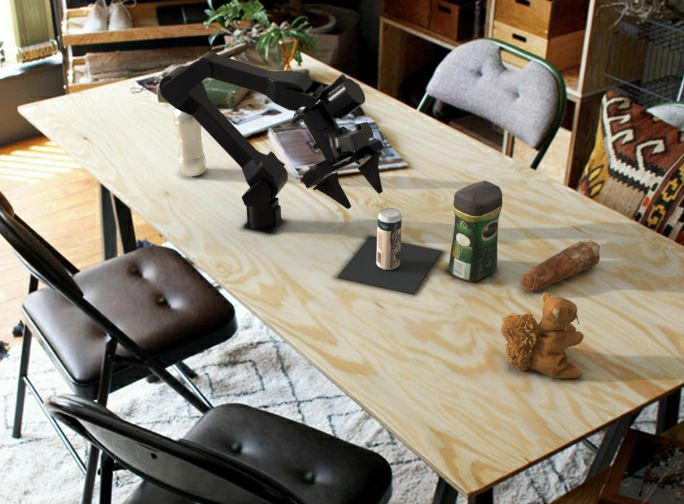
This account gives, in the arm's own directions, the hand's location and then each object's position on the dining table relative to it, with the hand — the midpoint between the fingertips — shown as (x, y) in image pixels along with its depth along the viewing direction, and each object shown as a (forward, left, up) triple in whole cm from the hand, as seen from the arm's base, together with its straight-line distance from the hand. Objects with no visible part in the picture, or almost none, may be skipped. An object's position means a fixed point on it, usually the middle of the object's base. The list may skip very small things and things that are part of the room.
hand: (365, 200), depth 204 cm
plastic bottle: (-51, +20, -13) cm, 56 cm away
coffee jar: (+22, +3, -13) cm, 26 cm away
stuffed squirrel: (+42, -23, -13) cm, 50 cm away
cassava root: (+39, +7, -13) cm, 42 cm away
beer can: (+6, -2, -12) cm, 14 cm away
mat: (+6, -1, -13) cm, 14 cm away
